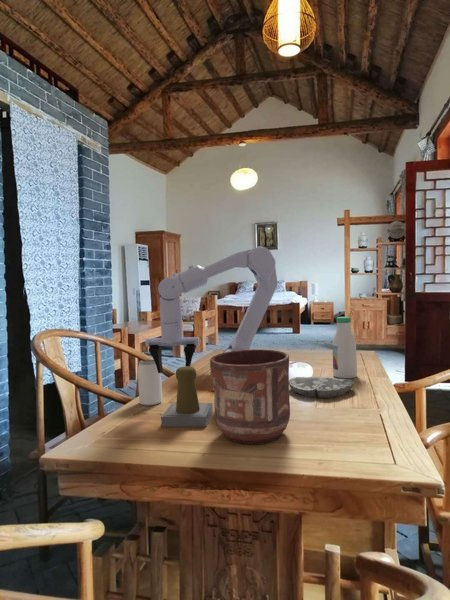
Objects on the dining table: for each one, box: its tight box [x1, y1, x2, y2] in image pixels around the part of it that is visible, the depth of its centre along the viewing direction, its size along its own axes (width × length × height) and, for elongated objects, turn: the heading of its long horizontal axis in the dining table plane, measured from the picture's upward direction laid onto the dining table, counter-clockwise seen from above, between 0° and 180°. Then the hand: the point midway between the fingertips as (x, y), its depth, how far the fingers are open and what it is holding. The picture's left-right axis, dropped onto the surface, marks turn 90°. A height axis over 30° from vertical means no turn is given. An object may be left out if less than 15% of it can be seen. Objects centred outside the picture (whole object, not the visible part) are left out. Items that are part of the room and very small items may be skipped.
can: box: [137, 359, 163, 407], centre depth 131 cm, size 6×6×12 cm
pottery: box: [209, 349, 291, 445], centre depth 102 cm, size 18×18×18 cm
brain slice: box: [289, 376, 355, 399], centre depth 135 cm, size 20×17×3 cm
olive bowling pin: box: [175, 365, 200, 414], centre depth 114 cm, size 6×6×11 cm
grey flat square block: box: [160, 402, 214, 428], centre depth 115 cm, size 11×11×3 cm
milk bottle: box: [332, 316, 358, 379], centre depth 152 cm, size 8×8×20 cm
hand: (174, 372), depth 123 cm, fingers open, 7 cm apart
